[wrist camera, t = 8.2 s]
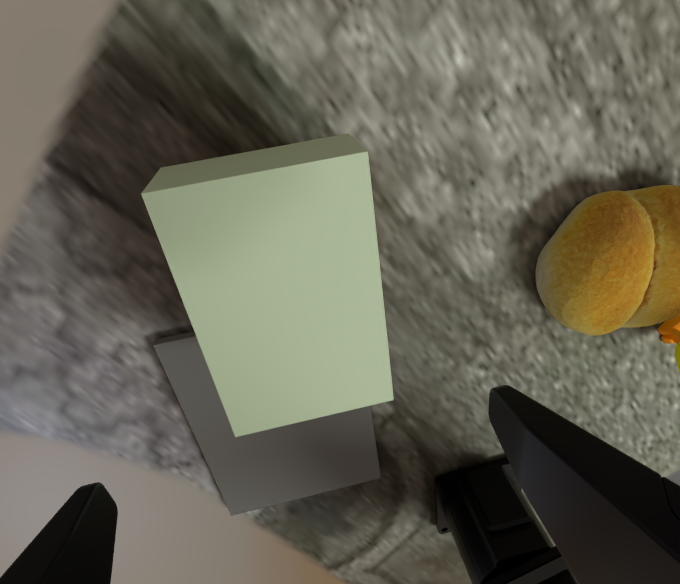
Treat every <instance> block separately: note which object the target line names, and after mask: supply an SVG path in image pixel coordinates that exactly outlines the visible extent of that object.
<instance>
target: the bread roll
mask: <svg viewBox="0 0 680 584" xmlns="http://www.w3.org/2000/svg"><path fill="white" fill-rule="evenodd" d="M536 287H537V291H538V293H539V295H540V298H541V301H542V303H543V304H544V306H545V307H546V309H547V310H548V312H549V313H550V314H551V315H552V316H553V317H554V318H555V319H556V320H557V321H558V322H559V323H561V324H562V325H564V326H565V327H567V328H570V329H572V330H575V331H578V332H580V333H583V334H587V335H603V334H607V333H610V332H613V331H615V330H617V329H619V328H622V327H626V328H629V327H643V326H651V325H654V324H657V323H660V322H664V321H667V320H671V319H673V318H675V317H676V316H678V315H680V186H675V185H658V186H652V187H647V188H642V189H637V190H628V191H620V190H615V191H607V192H602V193H598V194H595V195H592V196H589V197H588V198H586V199H584V200H583V201H582V202H580V203H579V204H578V205H577V206H576V207H575V208H574V209H573V211H572V212H571V213H570V214H569V215H568V216H567V218H566V219H565V220H564V221H563V223H562V224H561V225H560V226H559V228H558V229H557V231H556V232H555V233H554V235H553V236H552V237H551V239H550V240H549V241H548V242H547V244H546V245H545V246H544V248H543V249H542V251H541V252H540V254H539V257H538V260H537V265H536Z"/></svg>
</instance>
